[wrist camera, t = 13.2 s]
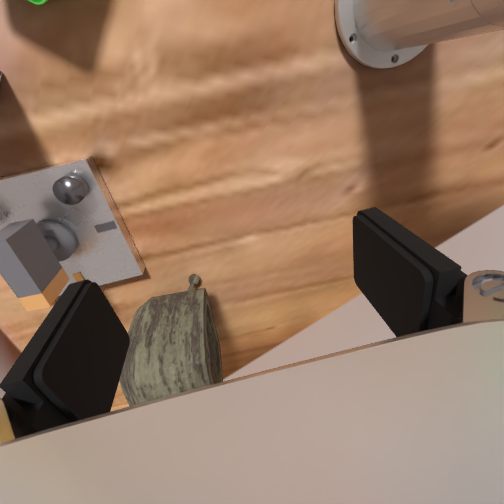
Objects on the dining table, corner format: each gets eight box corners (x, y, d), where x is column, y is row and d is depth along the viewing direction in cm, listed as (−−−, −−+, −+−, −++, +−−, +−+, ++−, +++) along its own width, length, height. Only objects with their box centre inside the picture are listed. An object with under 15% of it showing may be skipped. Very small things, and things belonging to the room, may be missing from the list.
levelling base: (-45, 188, 33) (-74, 200, 30) (91, 155, 33) (78, 163, 30) (36, 294, 41) (21, 313, 38) (145, 266, 42) (140, 283, 38)
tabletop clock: (219, 332, 50) (231, 516, 29) (167, 342, 50) (140, 537, 28) (203, 263, 43) (202, 441, 21) (142, 274, 42) (78, 467, 21)
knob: (58, 206, 33) (20, 237, 27) (89, 264, 38) (63, 303, 31) (13, 215, 33) (-38, 248, 26) (49, 272, 37) (14, 314, 30)
